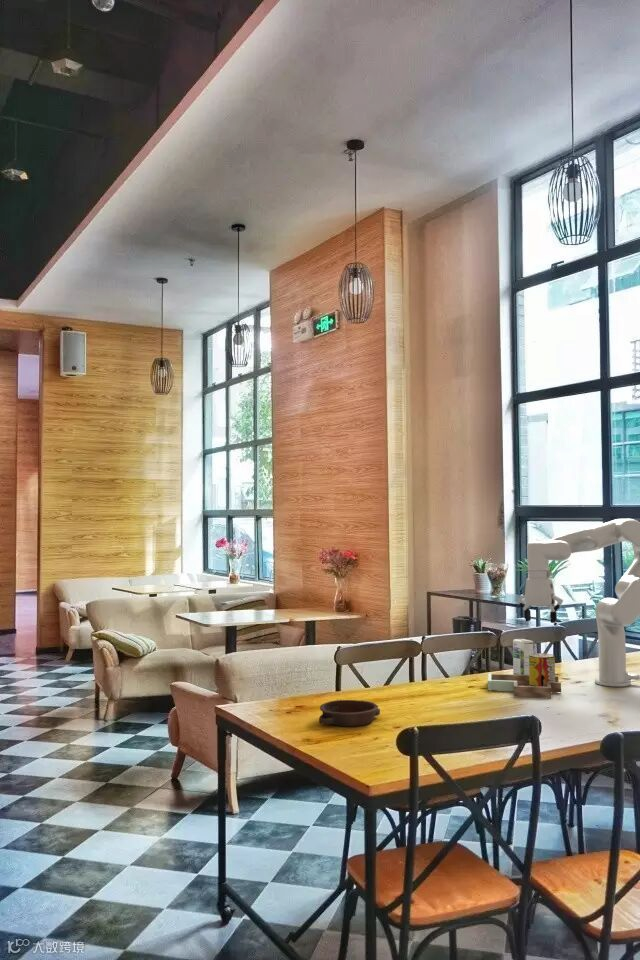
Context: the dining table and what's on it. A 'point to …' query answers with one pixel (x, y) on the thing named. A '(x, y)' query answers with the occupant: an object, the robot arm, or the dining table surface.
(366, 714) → the dish
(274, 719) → the dining table surface
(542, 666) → the beverage can
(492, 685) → the end bay
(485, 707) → the dining table surface
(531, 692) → the open walled frame
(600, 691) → the dining table surface
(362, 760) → the dining table surface
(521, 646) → the syrup box
